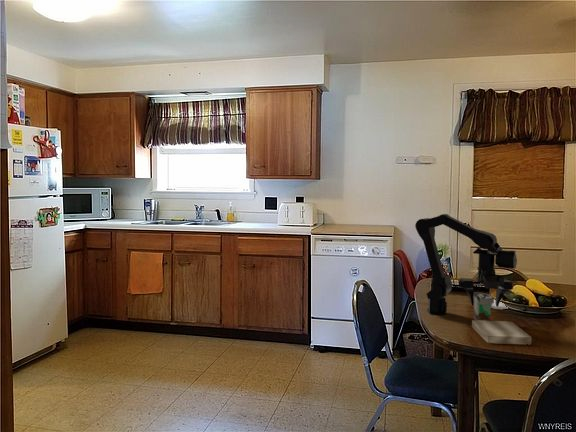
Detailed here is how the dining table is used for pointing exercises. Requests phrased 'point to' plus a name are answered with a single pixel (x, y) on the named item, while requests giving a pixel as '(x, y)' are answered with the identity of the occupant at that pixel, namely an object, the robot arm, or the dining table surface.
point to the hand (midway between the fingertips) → (484, 305)
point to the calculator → (500, 306)
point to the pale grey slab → (501, 332)
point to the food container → (482, 306)
